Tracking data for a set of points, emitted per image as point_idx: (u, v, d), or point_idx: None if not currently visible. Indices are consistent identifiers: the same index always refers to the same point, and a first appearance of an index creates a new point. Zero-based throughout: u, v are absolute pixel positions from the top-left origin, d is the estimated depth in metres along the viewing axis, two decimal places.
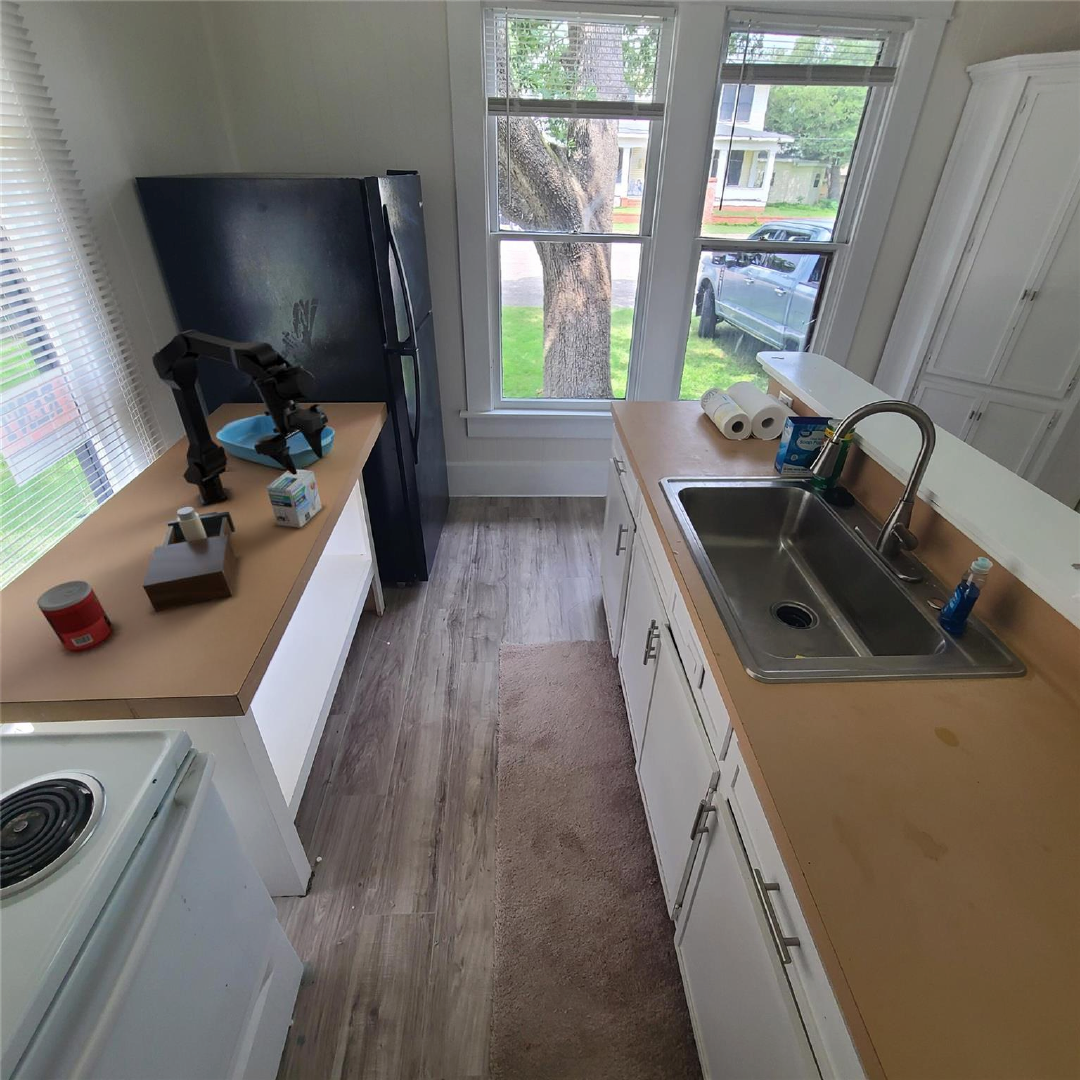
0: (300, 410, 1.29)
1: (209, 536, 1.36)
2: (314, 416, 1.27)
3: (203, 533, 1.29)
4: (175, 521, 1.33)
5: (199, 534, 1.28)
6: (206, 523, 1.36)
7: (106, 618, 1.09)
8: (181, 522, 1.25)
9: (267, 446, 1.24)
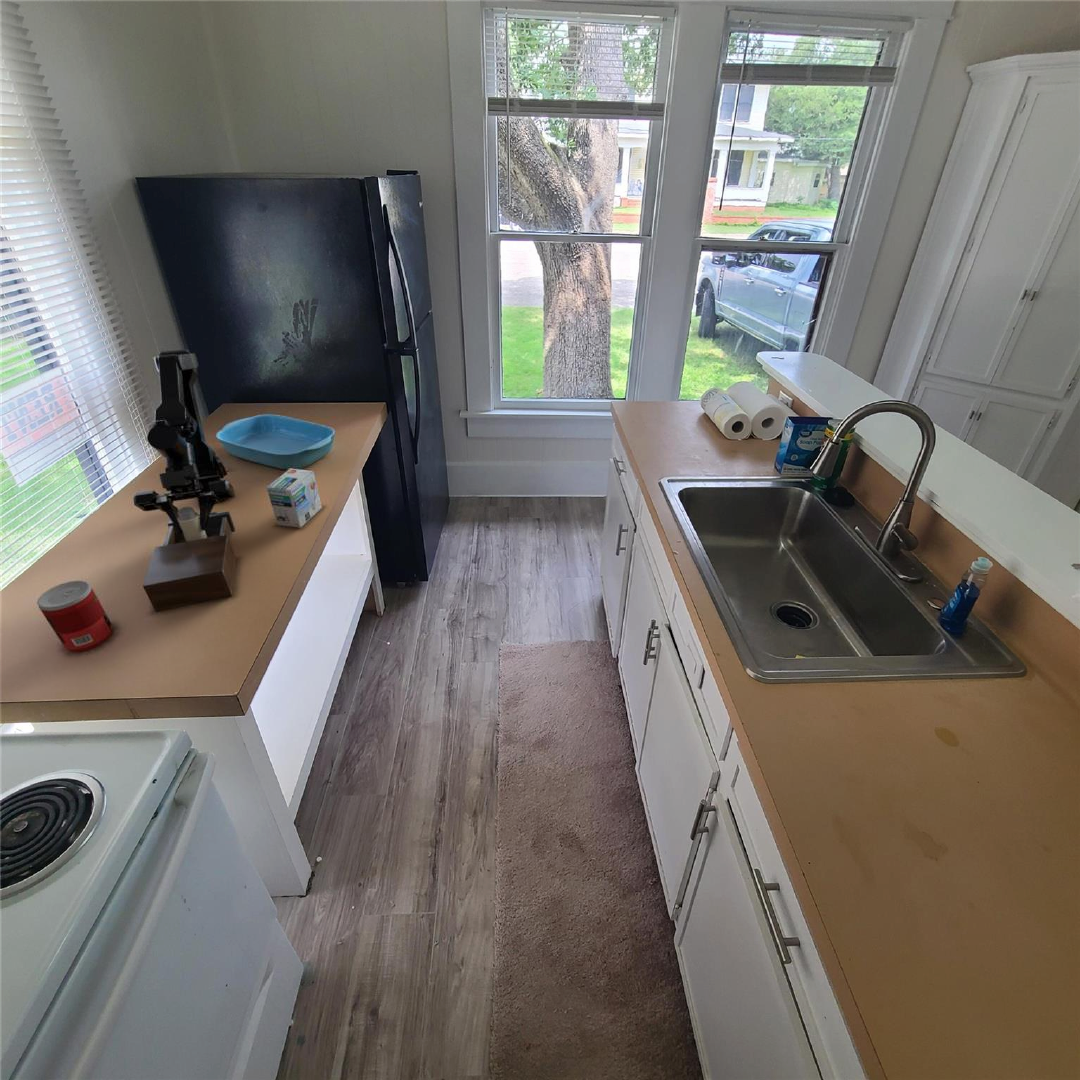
0: None
1: (209, 536, 1.36)
2: (171, 472, 1.21)
3: (203, 533, 1.29)
4: None
5: (199, 534, 1.28)
6: None
7: (106, 618, 1.09)
8: (181, 522, 1.25)
9: None
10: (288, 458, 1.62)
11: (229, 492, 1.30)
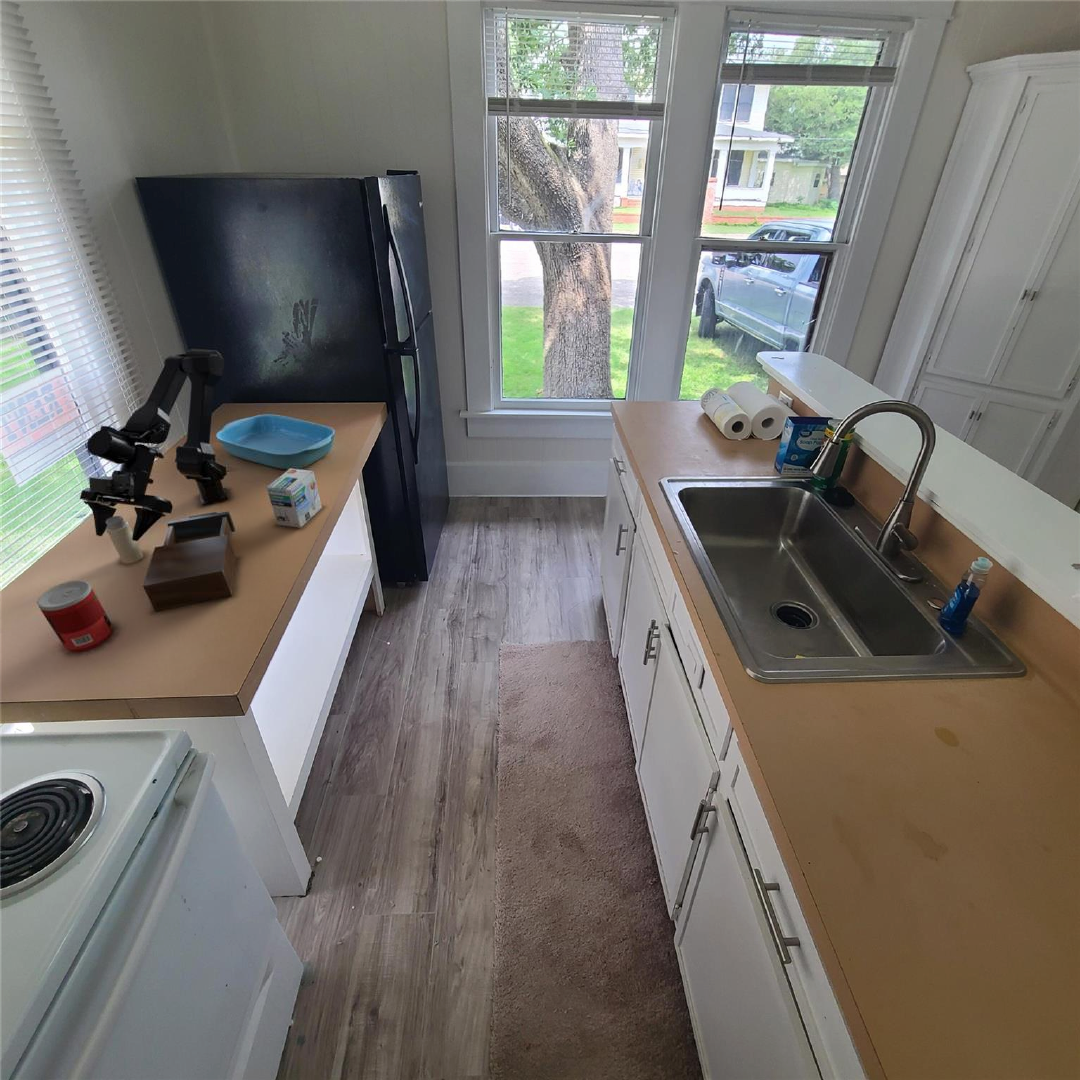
0: None
1: (209, 536, 1.36)
2: (98, 478, 1.21)
3: (129, 545, 1.28)
4: (175, 521, 1.33)
5: (123, 545, 1.27)
6: (206, 523, 1.36)
7: (106, 618, 1.09)
8: None
9: None
10: (288, 458, 1.62)
11: (157, 509, 1.26)
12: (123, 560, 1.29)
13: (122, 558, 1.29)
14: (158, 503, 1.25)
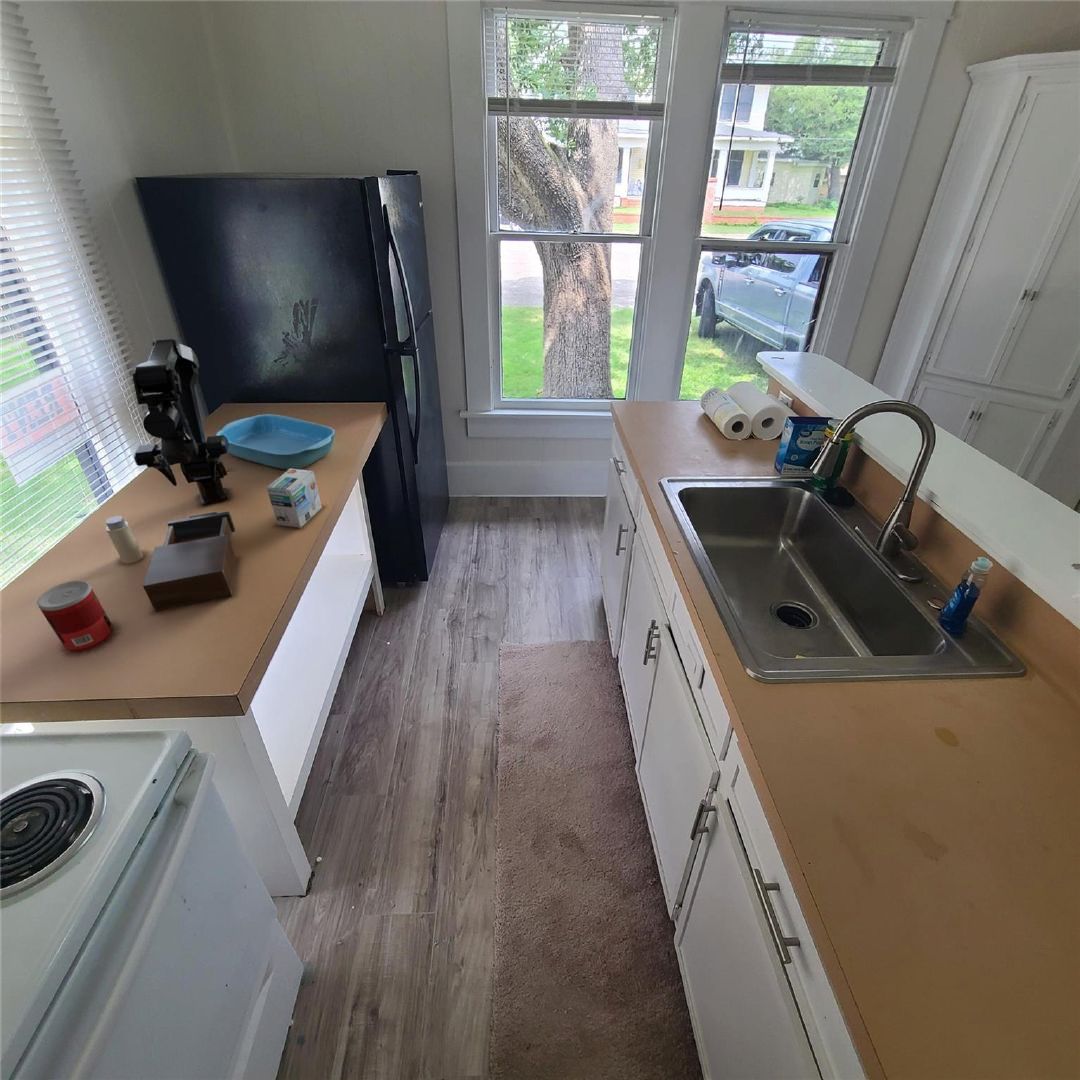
0: (179, 438, 1.28)
1: (209, 536, 1.36)
2: (173, 452, 1.26)
3: (129, 545, 1.28)
4: (175, 521, 1.33)
5: (123, 545, 1.27)
6: (206, 523, 1.36)
7: (106, 618, 1.09)
8: None
9: None
10: (288, 458, 1.62)
11: None
12: (123, 560, 1.29)
13: (122, 558, 1.29)
14: (226, 446, 1.35)
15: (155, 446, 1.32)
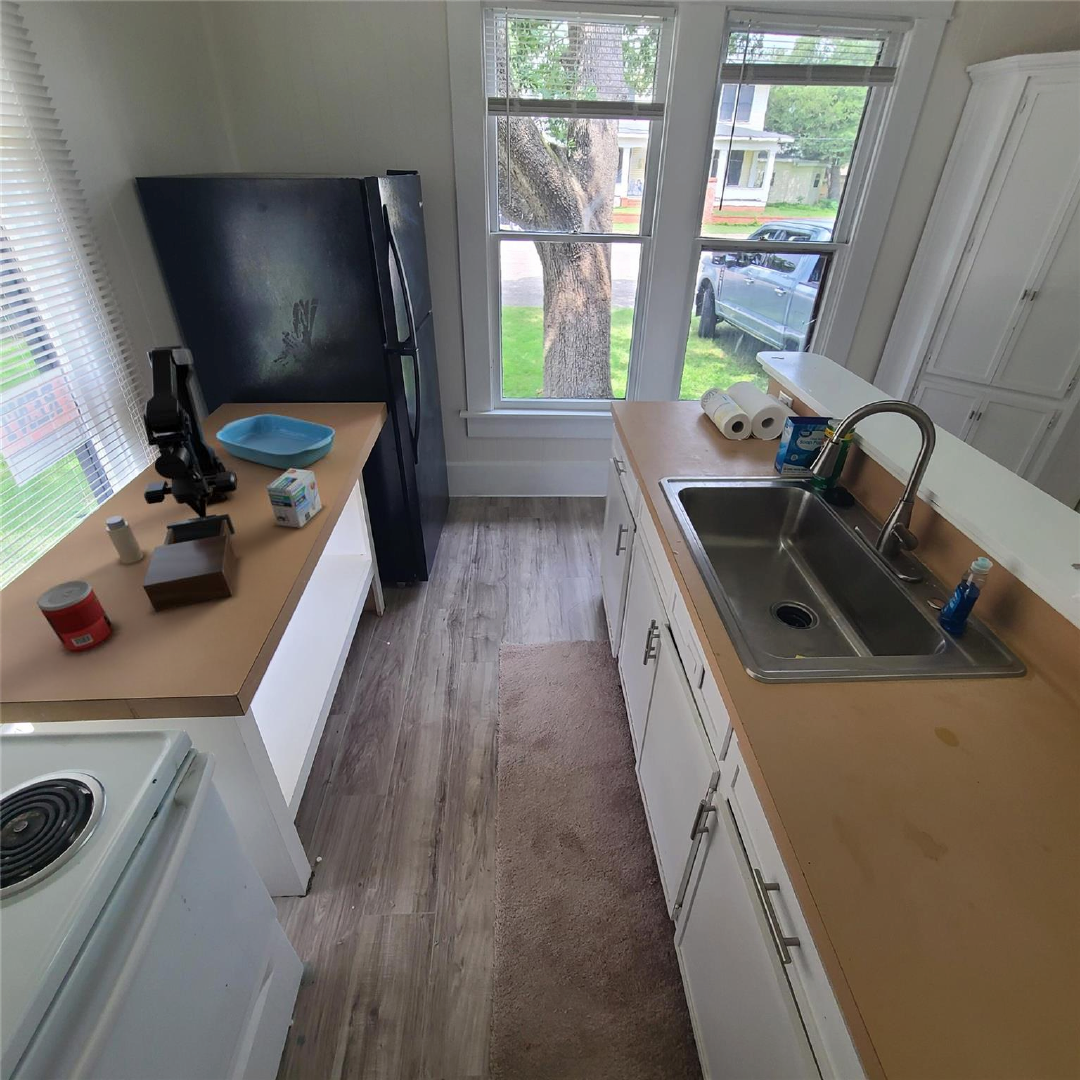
0: (189, 477, 1.29)
1: None
2: (184, 492, 1.27)
3: (129, 545, 1.28)
4: (174, 524, 1.32)
5: (123, 545, 1.27)
6: (205, 526, 1.35)
7: (106, 618, 1.09)
8: None
9: None
10: (288, 458, 1.62)
11: None
12: (123, 560, 1.29)
13: (122, 558, 1.29)
14: (235, 482, 1.36)
15: (165, 483, 1.33)
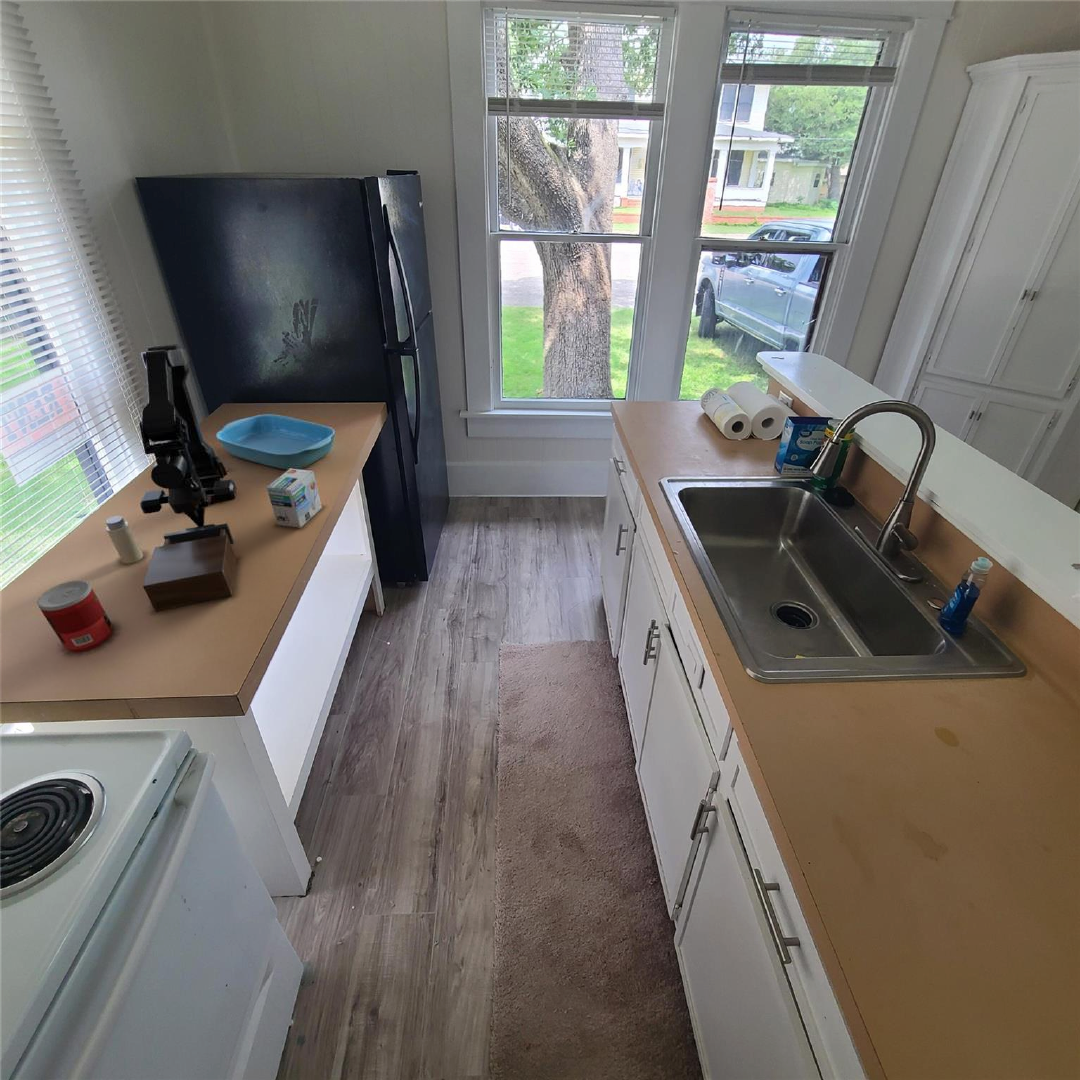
0: (186, 486, 1.26)
1: None
2: (181, 502, 1.23)
3: (129, 545, 1.28)
4: (171, 534, 1.29)
5: (123, 545, 1.27)
6: (204, 535, 1.31)
7: (106, 618, 1.09)
8: None
9: None
10: (288, 458, 1.62)
11: None
12: (123, 560, 1.29)
13: (122, 558, 1.29)
14: (234, 491, 1.33)
15: (162, 492, 1.30)
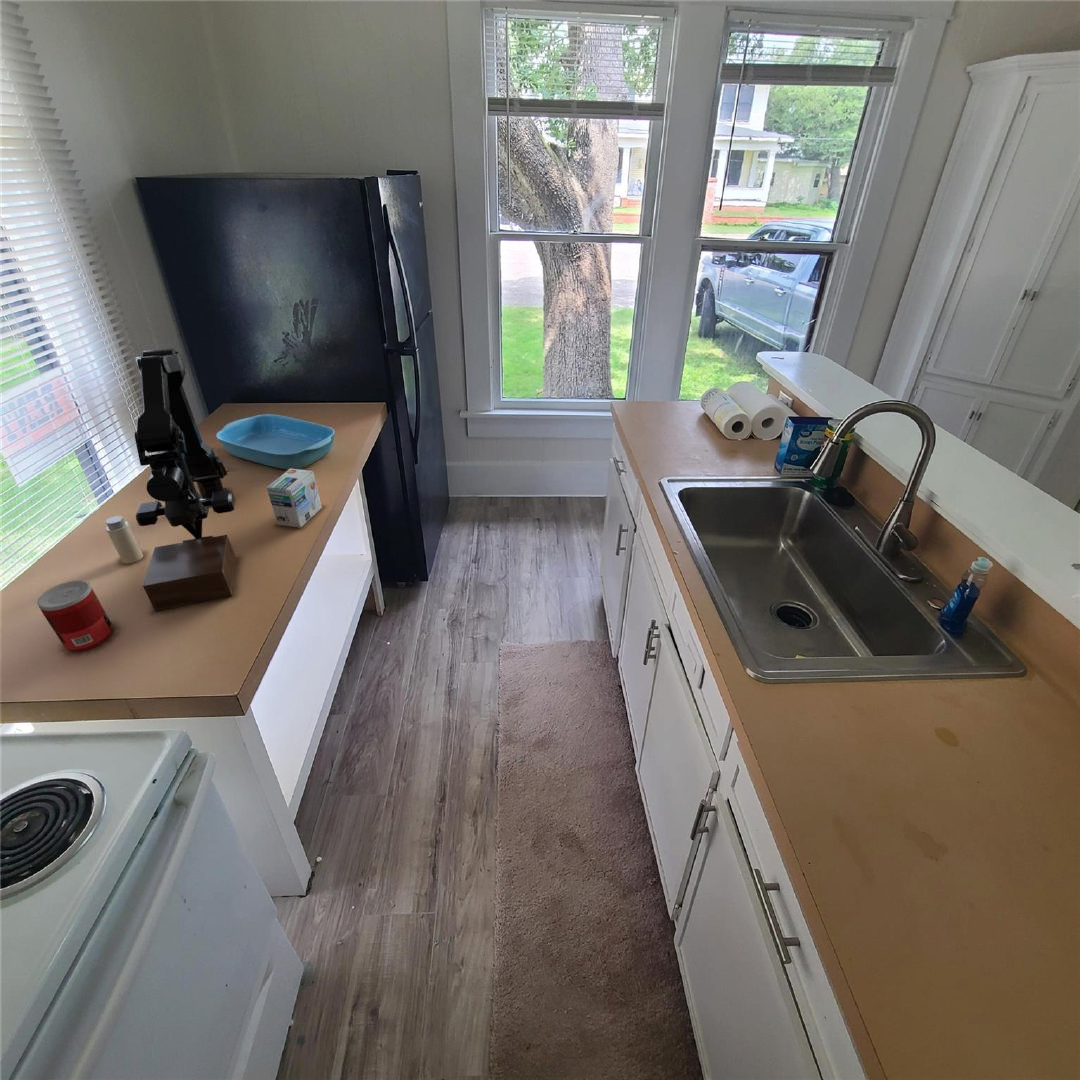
0: (183, 498, 1.22)
1: None
2: (178, 514, 1.19)
3: (129, 545, 1.28)
4: None
5: (123, 545, 1.27)
6: None
7: (106, 618, 1.09)
8: None
9: None
10: (288, 458, 1.62)
11: None
12: (123, 560, 1.29)
13: (122, 558, 1.29)
14: (232, 502, 1.29)
15: (158, 504, 1.26)
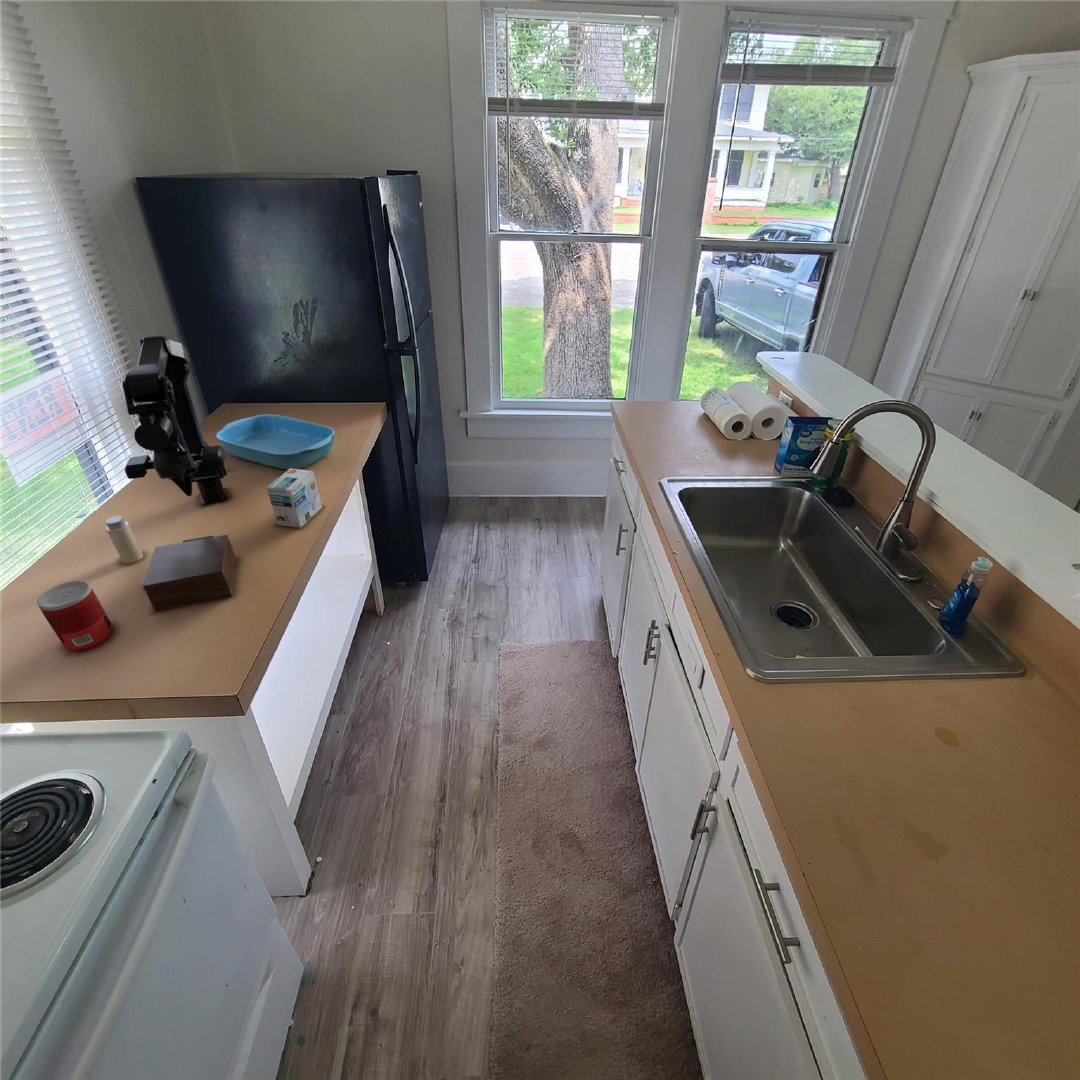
0: (172, 450, 1.21)
1: None
2: (167, 465, 1.19)
3: (129, 545, 1.28)
4: None
5: (123, 545, 1.27)
6: None
7: (106, 618, 1.09)
8: None
9: None
10: (288, 458, 1.62)
11: None
12: (123, 560, 1.29)
13: (122, 558, 1.29)
14: (222, 457, 1.28)
15: (147, 458, 1.25)
